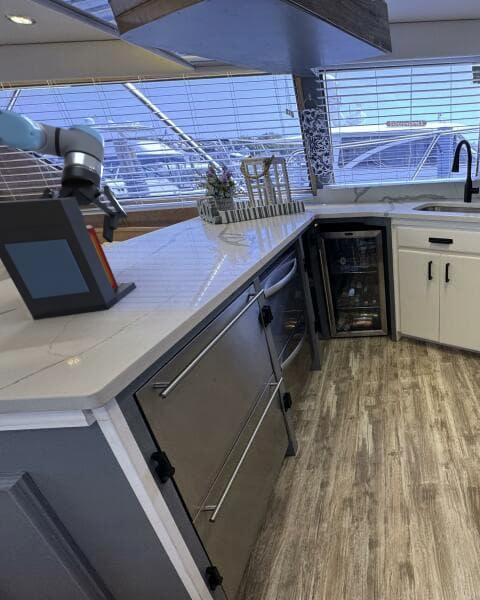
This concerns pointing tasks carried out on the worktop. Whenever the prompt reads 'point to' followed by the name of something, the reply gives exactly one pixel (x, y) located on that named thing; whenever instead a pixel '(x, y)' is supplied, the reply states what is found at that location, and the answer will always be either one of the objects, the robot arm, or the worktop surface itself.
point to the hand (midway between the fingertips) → (74, 242)
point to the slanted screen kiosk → (54, 258)
